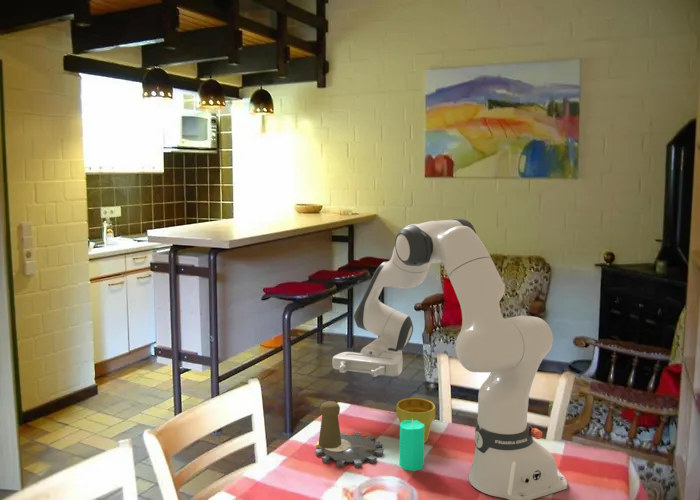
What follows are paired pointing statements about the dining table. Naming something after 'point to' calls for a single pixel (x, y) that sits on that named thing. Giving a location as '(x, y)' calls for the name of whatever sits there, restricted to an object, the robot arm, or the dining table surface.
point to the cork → (329, 425)
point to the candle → (411, 445)
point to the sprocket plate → (352, 450)
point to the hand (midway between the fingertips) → (357, 371)
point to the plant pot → (417, 412)
